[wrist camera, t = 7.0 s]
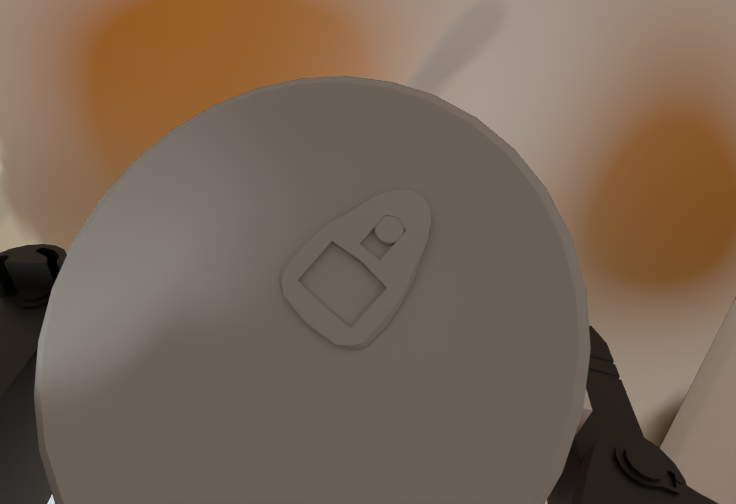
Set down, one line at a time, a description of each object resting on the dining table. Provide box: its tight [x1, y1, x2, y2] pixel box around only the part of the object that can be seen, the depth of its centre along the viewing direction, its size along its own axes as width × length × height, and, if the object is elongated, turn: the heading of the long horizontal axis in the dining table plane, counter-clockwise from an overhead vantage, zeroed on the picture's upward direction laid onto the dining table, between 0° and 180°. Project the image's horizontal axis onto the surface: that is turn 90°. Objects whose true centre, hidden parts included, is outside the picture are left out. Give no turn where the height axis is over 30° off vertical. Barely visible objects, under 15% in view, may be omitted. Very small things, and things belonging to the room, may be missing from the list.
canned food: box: [34, 76, 591, 504], centre depth 11 cm, size 8×8×11 cm
